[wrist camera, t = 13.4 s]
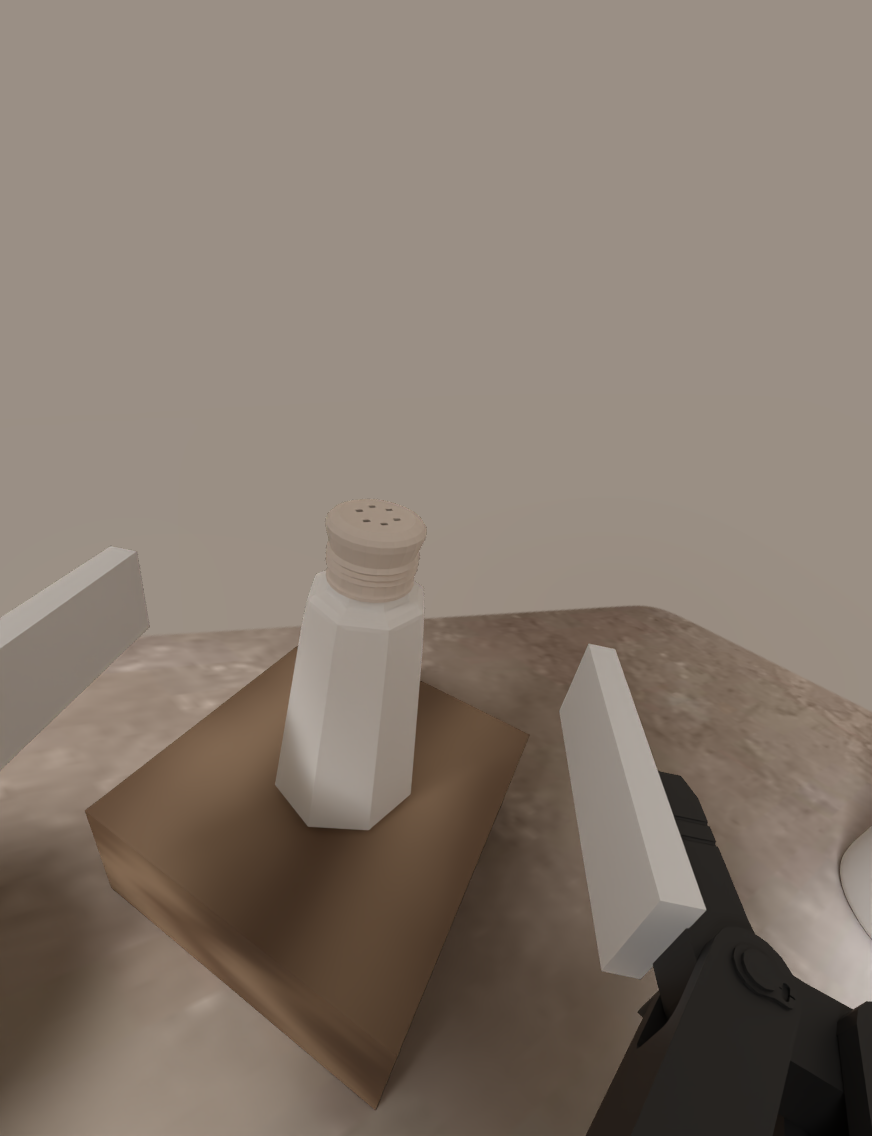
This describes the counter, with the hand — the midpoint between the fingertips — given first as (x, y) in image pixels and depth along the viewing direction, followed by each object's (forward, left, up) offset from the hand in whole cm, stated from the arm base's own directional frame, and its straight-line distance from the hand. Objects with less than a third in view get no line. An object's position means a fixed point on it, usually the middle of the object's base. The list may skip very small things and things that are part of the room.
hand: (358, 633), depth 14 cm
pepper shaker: (0, +1, -8) cm, 8 cm away
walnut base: (-1, +1, -13) cm, 13 cm away
